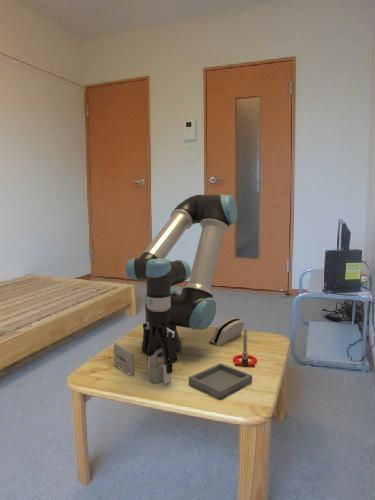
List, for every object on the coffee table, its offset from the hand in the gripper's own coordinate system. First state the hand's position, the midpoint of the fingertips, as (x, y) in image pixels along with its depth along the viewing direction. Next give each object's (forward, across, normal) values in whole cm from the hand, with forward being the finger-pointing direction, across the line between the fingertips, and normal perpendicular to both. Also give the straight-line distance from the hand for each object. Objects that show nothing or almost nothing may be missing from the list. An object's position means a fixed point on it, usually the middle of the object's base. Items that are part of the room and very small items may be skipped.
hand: (159, 378), depth 127 cm
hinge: (0, -7, +43) cm, 43 cm away
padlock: (+1, 0, 0) cm, 1 cm away
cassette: (+1, -14, -4) cm, 15 cm away
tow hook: (0, +11, +30) cm, 32 cm away
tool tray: (0, +16, +11) cm, 20 cm away
